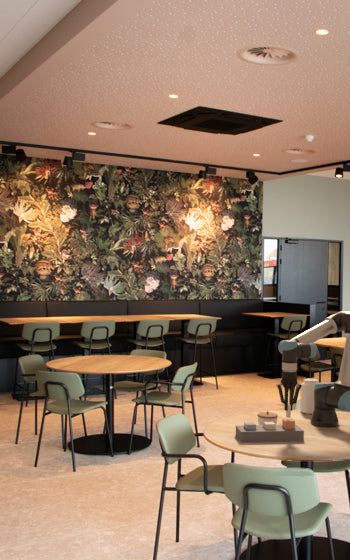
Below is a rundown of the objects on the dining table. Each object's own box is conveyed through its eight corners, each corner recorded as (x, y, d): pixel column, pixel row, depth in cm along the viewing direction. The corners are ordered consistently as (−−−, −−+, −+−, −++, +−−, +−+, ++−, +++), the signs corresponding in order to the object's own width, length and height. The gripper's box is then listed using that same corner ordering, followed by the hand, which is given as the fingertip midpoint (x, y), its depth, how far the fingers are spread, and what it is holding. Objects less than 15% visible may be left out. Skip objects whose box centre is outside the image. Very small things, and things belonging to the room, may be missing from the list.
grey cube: (253, 431, 298) (253, 422, 298) (256, 434, 293) (256, 424, 293) (244, 431, 297) (244, 422, 297) (246, 434, 292) (246, 424, 292)
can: (323, 414, 348) (324, 381, 348) (302, 414, 348) (303, 380, 348) (318, 409, 361) (318, 377, 361) (298, 409, 361) (298, 377, 360)
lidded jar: (277, 431, 308) (277, 414, 308) (256, 430, 310) (256, 412, 310) (277, 426, 319) (277, 409, 318) (257, 425, 321) (258, 408, 321)
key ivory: (272, 431, 299) (272, 421, 299) (275, 434, 294) (275, 424, 294) (263, 431, 298) (263, 421, 298) (265, 434, 293) (266, 424, 293)
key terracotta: (291, 428, 300) (291, 418, 300) (294, 431, 295) (295, 421, 295) (282, 428, 299) (282, 418, 299) (285, 431, 294) (285, 421, 294)
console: (296, 434, 304) (296, 424, 304) (303, 440, 292) (303, 430, 292) (235, 435, 300) (235, 425, 300) (241, 441, 288) (241, 431, 288)
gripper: (299, 369, 301) (298, 415, 301) (274, 369, 300) (273, 415, 300) (304, 372, 294) (303, 418, 294) (279, 371, 292) (278, 418, 293)
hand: (288, 417), depth 297 cm, fingers closed
